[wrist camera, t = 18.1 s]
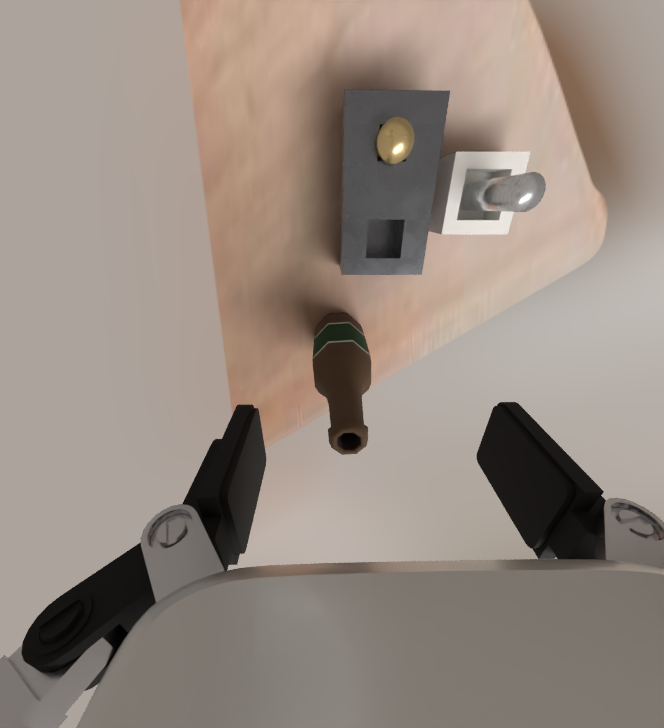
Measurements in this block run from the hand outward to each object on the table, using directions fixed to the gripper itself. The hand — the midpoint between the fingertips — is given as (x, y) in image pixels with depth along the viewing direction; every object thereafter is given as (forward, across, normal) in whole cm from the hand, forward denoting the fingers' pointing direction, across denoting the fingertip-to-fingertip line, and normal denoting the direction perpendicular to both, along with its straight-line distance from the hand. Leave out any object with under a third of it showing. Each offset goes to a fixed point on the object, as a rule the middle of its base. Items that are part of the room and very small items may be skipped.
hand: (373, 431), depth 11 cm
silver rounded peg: (+32, -16, -9) cm, 37 cm away
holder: (+33, -16, -9) cm, 38 cm away
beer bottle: (+34, 0, +10) cm, 35 cm away
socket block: (+33, -5, -9) cm, 35 cm away
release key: (+32, -5, -14) cm, 35 cm away
